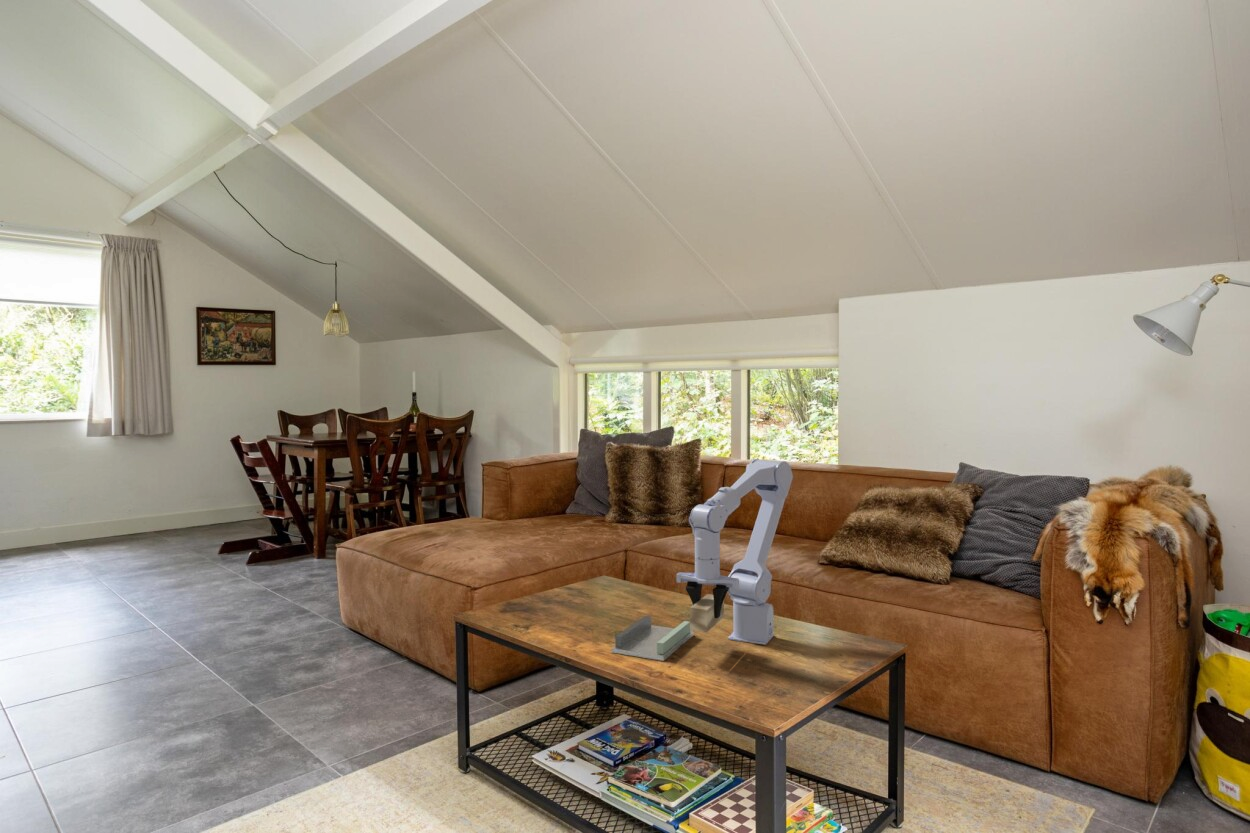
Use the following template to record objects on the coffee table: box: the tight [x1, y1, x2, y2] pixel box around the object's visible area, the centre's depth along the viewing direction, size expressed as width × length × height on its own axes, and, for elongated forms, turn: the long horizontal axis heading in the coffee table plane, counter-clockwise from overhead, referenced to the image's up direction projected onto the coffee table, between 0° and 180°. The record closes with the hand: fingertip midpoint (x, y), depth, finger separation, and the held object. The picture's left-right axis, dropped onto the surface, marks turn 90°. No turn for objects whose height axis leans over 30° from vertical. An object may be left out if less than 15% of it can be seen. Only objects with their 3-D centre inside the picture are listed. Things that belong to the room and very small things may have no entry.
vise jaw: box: [657, 620, 691, 654], centre depth 176 cm, size 2×17×2 cm, turn 154°
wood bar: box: [689, 593, 725, 633], centre depth 172 cm, size 4×12×5 cm, turn 154°
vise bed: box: [611, 615, 695, 662], centre depth 178 cm, size 13×19×4 cm
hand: (707, 615), depth 172 cm, fingers closed on wood bar, 4 cm apart
